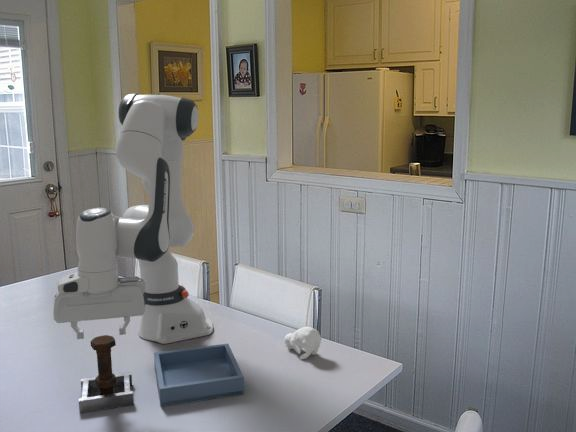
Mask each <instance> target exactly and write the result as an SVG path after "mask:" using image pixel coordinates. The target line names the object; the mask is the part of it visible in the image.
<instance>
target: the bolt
mask: <svg viewBox="0 0 576 432" xmlns="http://www.w3.org/2000/svg"><path fill="white" fill-rule="evenodd" d="M115 346H117V345H116V339H115V338H114V336H111V335H107V334H105V335H100V336H96V337H93V338H92V339H91V340H90V347H91V348H92V350H93V351H96V352H95V353H96V359H97V360H96V361H97V373H98V375H97V376H95V377H96V378H95V382H96V385H97V387H98V388H100V390H99V396H101V395H108V394H115V391H114V388H113V385H115V383H116V376H115V375H116V374H115V373H114V372H113V364H112V362H113V361H112V348H113V347H115Z"/></svg>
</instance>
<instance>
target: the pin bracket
mask: <svg viewBox="0 0 576 432" xmlns="http://www.w3.org/2000/svg"><path fill="white" fill-rule="evenodd" d="M114 375H115V376H116V383H115V385H113V389H118V388H124V391H123V392H117V393H115V392H114V394H108V395H101V396H100V395H95V396H90V392H96V391H100V388H98V387H97V385H96V382H95V378H96V377H97V376H94V377H89V378H88V377H87V378H82V379H80V388H81V389H80V390H81V391H80V392H81V398H78V410H79V414H82V413H90V412H95V411H101V410H102V411H103V410H111V409H117V408H124V407H130V406H134V404H135V403H134V391H133V390H131V386H133V375H132V372H127V373H119V374H118V373H116V374H114Z"/></svg>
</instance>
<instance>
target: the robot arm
mask: <svg viewBox="0 0 576 432" xmlns="http://www.w3.org/2000/svg"><path fill="white" fill-rule="evenodd" d="M199 119H200V115H199V109H198V105H197V104H196V102H195V101H194V100H191V99H190V98H186V97H177V96H173V95H168V94H139V93H129V94H126V95H125V96H124V97H122V99H121V101H120V103H119V107H118V121H119V123H120V124H121V128H120V132H119V136H118V138H117V139H118V140H117V142H116V149H115V154H116V155H115V156H116V158H117V160H118V163H119V164H120V165H121V166H122V168H124V170H126V171H127V172H128V173H130V174H131V175H132V176H135V177H138V178H139V179H142V180H141V183H142V187H143V189H144V190H145V192H146V193H147V195H148V204H140V205H132V206H130V207H129V208H127V209H126V210H125V211H124V213H123V215H122V216H117V215H115V214H114V213H113V211H112V210H111V209H110V208H105V207H94V208H89V209H86V210H83V211H82V212H81V213H79V215H78V216H77V220H76V227H75V247H76V248H75V249H76V253H77V257H78V264H77V271H75V272H72V273H69V274H67V275H64V276H62V277H60V279H59V280H58V283H57V292H56V294H55V295H56V297H55V296H54V302H53V320H54V321H55V322H56V323H57V324H63V323H70V328H72V329H73V331H74V332H75V333H76V339H77V340H81V339H82V340H84V337H85V334H84V333H85V331H84V328H81V329H80V328H79V326H78V323H79V322H84V321H85V322H86V321H97V320H107V319H117V318H118V319H120V318H123V323H122V325H119V326H118V331H119V332H118V333H119V336H120V335H121V336H123V335H127V334H126V333H127V332H126V329H127V327H128V326H129V323H130V321H131V317H140V316H141V319H140V325H139V329H138V335H139V337H140V338H142V339H144V340H147V341H153V342H157V343H159V344H163V345H165V344H170V343H176V342H180V341H185V340H191V339H195V338H199V337H204V336H208V335H211V334H212V333H213V331H214V326H213V323H212V320H210V319H209V317H207V316H206V315H205V311H204V310H203V307H202V306H201V305H200V304H199V303H197V302H195V301H194V300H192V299H191V298H188V297H189V291H188V290H186V287H184V285H183V284H181V285H180V284H179V265H178V261H177V259H176V257H175V256H174V255H173V254H172V253H171V250H170V249H169V248H179V247H184V246H186V245H187V244H188V243H190V241H191V240H192V238H193V236H194V230H195V229H194V228H195V226H194V222H193V220H192V218H191V217H190V216H189V214H188V213H187V210H186V209H185V205H184V201H183V196H182V188H181V187H182V186H181V185H182V184H181V183H182V174H183V173H182V171H183V162H184V161H183V160H184V141H185V140H186V138H188V137H191V135H193V134H194V133H195V131H196V130H197V127H198V124H199ZM117 258H123V259H134V260H135V259H137V260H138V264H139V273H140V277H139V276H131V277H119V264H118V260H117Z"/></svg>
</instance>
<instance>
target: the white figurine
mask: <svg viewBox="0 0 576 432" xmlns="http://www.w3.org/2000/svg"><path fill="white" fill-rule="evenodd" d="M321 341H322V336H321V334H320V332H319V331H318V330H317V329H315V328H314V327H311V326H303V327H301V328H298V329H297V330H296V331H294V332H289V333H287V334H286V335H285V337H284V343H285V347H286V349H287V350H289V349H292V350H294V351H296V352H297V354H301V350H302V349H304V351H305V353H302V354H301V355H300V356H299V359H300V360H306V359H308V358H309V357H310V356H311V355H312V356H316V354H317V353H318V352H319V348H320V347H321Z"/></svg>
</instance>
